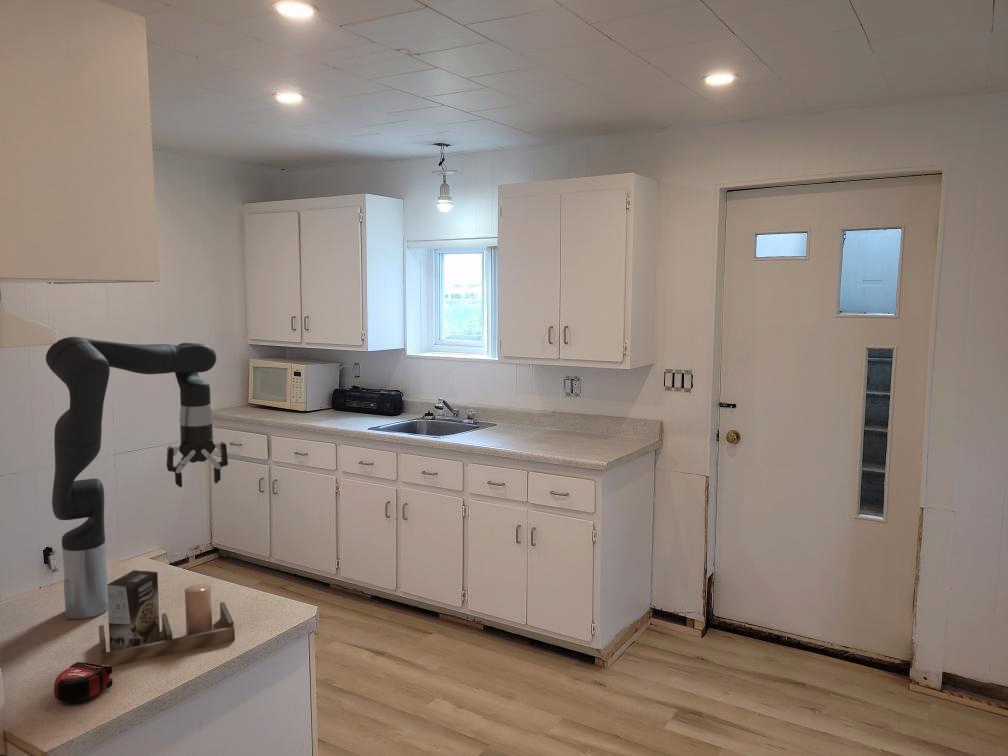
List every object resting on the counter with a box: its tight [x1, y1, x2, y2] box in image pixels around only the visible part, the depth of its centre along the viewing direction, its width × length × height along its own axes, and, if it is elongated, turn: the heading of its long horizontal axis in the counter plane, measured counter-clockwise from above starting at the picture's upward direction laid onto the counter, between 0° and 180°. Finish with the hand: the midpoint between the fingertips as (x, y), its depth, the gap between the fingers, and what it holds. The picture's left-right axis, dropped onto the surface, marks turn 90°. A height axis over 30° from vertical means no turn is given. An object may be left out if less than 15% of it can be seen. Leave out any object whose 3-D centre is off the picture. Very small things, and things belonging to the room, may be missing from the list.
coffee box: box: [107, 569, 161, 652], centre depth 167 cm, size 9×6×16 cm
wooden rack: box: [98, 602, 236, 667], centre depth 170 cm, size 27×13×4 cm, turn 120°
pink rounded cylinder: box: [184, 583, 213, 636], centre depth 173 cm, size 6×6×11 cm
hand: (198, 484), depth 190 cm, fingers open, 8 cm apart
